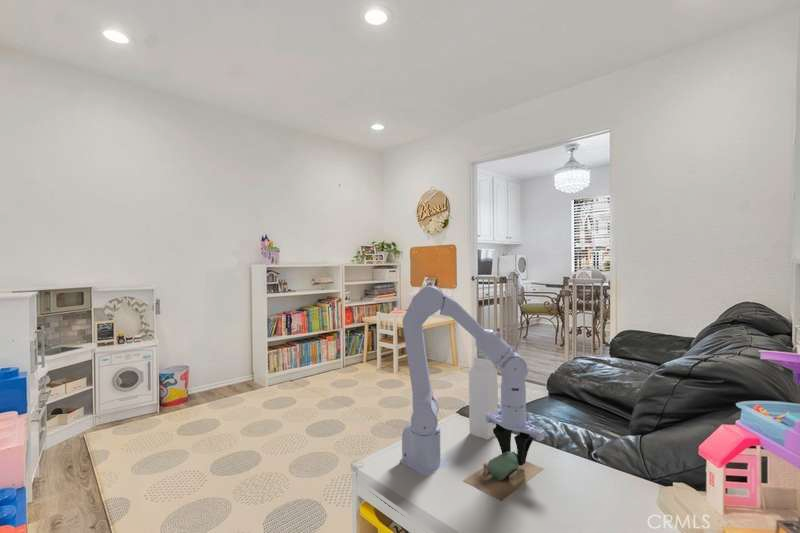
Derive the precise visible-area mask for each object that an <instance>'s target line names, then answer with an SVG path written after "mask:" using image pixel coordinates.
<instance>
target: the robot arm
mask: <svg viewBox="0 0 800 533" xmlns="http://www.w3.org/2000/svg"><path fill="white" fill-rule="evenodd" d="M439 311H440V312H439ZM437 312H439V315H440V316H445V317H449V318H452V319H453V320H454V321H456V323H458V324H459V325H460V326H461V327H462V328H463V329H464V330H465V331H467V332H468V333H469V334H470V335H471V336H472V337H473V338H474V339H475V348H477V349H478V350H479V351H480V352H481V353H483V355H484V356H485V357H486V358H487V360H491V361H492V364H493V365H495V366H496V367H497V366H498V367H499V369H500V370H501V374H500V375H501V383H500V414H499V413H498V414H494V413H488V414H486V422H487V423H494V424H496V428H494V429H493V433H494V434H495V438H496V440H497V442H498V445H499V447H500V451H501V454H502V453H504V452H506V451H510V452H512V451H511V449H512V448H511V447H512V446H511V442H512V433H513V432H517V433H519V434H517V435H515V436H514V442H515V445H516V450H517V451H516V452H517V457H518V462H519V465H520V466H522V465H523V464H525V461H527V457H528V453H529V449H530V446H532V443H533V441H534V439H535V440H536V441H538V442H542V441H543V440H545V438H546V437H545V436H546V435H545V430H544V429H541V428H539V427H537V426H536V425H534V424H532V423H530V422H528V421H527V396H526V395H527V392H526V390H527V386H526V377H527V376H528V374H529V368H528V365H527V363H526V361H525V359H524V358H523V356H521V355H520V354H519V352H518V351H517V349H516V347H515V346H510V345H509V343H507V342H506V341H505V340H504V338H502V334H501V333H500V331H498V330H497V331H495V330H494V329H492V328H491V329H490V328H487V329H486V328H484V327H483V326H482V325H481V324H479V322H477V321H476V319H474V317H473V316H472V315H471V314H470V313H468V312H467V310H466V309H465V308H464V307H463V306H462V305H461V304H460V303H459V302H458V301H457V300H455V299H454V298H453V297H451V295H449V294H447V293H446V292H443V290H442V289H441V288H440V287H438V286H437V285H434V284H429V285H425V286H423V287H422V289H420V290H419V291H418V292H417V293H416V294H415V295H414V296H413V297H412V298H411V301H410V303H409V306H408V307H407V310H406V312H405V314H404V316H403V318H402V328H403V329H402V330H403V336H404V337H403V338H404V344H405V348H406V357H407V363H408V370H409V371H408V372H409V376H410V384H411V385H410V386H411V390H412V391H411V392H412V414H411V416H410V417H411V418H410V423H408V424H407V425H406V426H405V427H404V429H403V430H402V434H401V457H402V458H401V459H399V463H400V464H404V465H406V466H407V467H410V468H412V469H413V470H414V471H417V472H419V473H421V474H422V475H424V476H429V475H431V474H433V473H434V472H436V471H437V470H440V469H441V468H442V469H443V467H446V466H447V465H449V462H447V461H445V460H443V459H442V458H441V456H442V455H441V426H440V424H439V423H438V422H439V420H438V417H439V416H438V414H439V409H440V408H439V404H438V402H437V400H436V398H435V397H434V394H433V393H434V392H433V389H432V384H431V379H430V369H429V364H428V358H427V352H426V343H425V337H424V331H423V325H424V324H425V322H426V321H427V320H428V318H429V317H431V316H432V315H434V314H436V313H437Z"/></svg>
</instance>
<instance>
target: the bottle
mask: <svg viewBox="0 0 800 533" xmlns="http://www.w3.org/2000/svg"><path fill="white" fill-rule="evenodd" d="M494 457H495V458H494ZM494 457H493V458H494V459H492V458H491V459H492V460H491V459H489V460H490V461H489V460H488V461H489V463H488V470H489V472H490V474H491V476H492V477H493V478H494V479H496V480H498V481H501V480H503V479H504V478H506V477H507V476H509V475H510V474H512V473H513V472H515V471H516V470H517V469H518V467H519V462H518V457H517V451H515V450H514V451H511V452H510V451H506V452H504V453H502V452H501V453H500V454H499V455H497V456H494Z"/></svg>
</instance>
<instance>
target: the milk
mask: <svg viewBox="0 0 800 533" xmlns="http://www.w3.org/2000/svg"><path fill="white" fill-rule="evenodd" d="M498 387H499V386H498V369H497V368H496V367H494V366H493V362H492V361H491V360H489V359H485V358H479V357H474V358H473V363H472V365H471V366H470V368H469V369H468V399H469V400H468V404H469V405H468V406H469V412H468V414H469V417H468V418H469V419H468V420H469V424H468V425H469V434H470V435H473V436H475V437H477V438H481V439H484V440H487V441H488V440H490V439H491V438H496V436H495V434H494V433H493V429H494V428H496V424H494V423H487V422H486V414H488V413H494V414H498V415H499V409H498V407H499V404H498V402H499V400H498V399H499V396H498V390H499V389H498Z"/></svg>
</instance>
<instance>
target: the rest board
mask: <svg viewBox="0 0 800 533" xmlns="http://www.w3.org/2000/svg"><path fill="white" fill-rule="evenodd" d="M495 457H496V456H494V457H492V458H491V459H489V460H488V461H486V462H484V463H483V468H481V469H479V470H477V471H476V472H474V473H473V474H471V475H469V476H468V477H466V478H465V479H463V480H462V481H463V482H464V483H466V484H468V485H470V486H472V487H473V488H476V489H477V490H479V491H481V492H483V493H485V494H487V495H489V496H490V497H492V498H494V499H497V500H499V501H500V502H502V501H504V500H505V499H506V498H508V497H509V496H511V494H513V493H514V492H515V491H517V490H518V489H519V488H520V487H522V486H523V485H525V484H526V483H527V482H528V481H530V480H531V479H532V478H534V477H536V476H537V475H538V474H539V473H540V472H542V471H543V470H544V469H545V468H543V467H541V466H538V465H536V464H534V463H531V462H529V461H527V460H526V461H525V464H523V465H522V466H520V465H519V467H518V469H517V470H516V471H515V472H513V473H512V474H510V475H509V476H507V477H506V478H504V479H503V480H501V481H498V480H496V479H494V478H493V477H492V476H491V474H490V472H489V470H488V463H489V461H490V460H492V459H494V458H495Z"/></svg>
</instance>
